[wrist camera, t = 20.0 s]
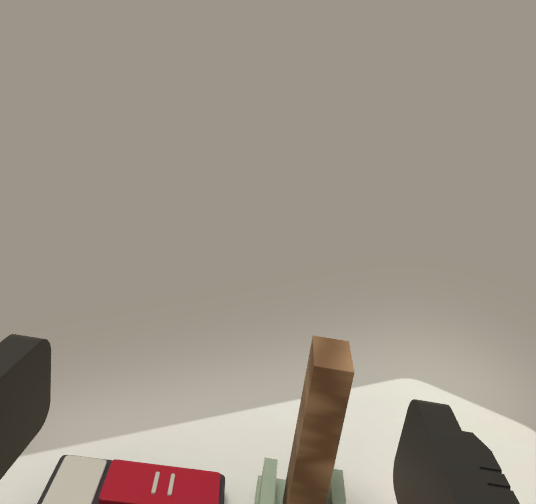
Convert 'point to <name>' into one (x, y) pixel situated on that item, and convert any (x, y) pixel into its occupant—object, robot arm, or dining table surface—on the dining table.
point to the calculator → (129, 483)
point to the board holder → (273, 488)
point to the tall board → (319, 421)
